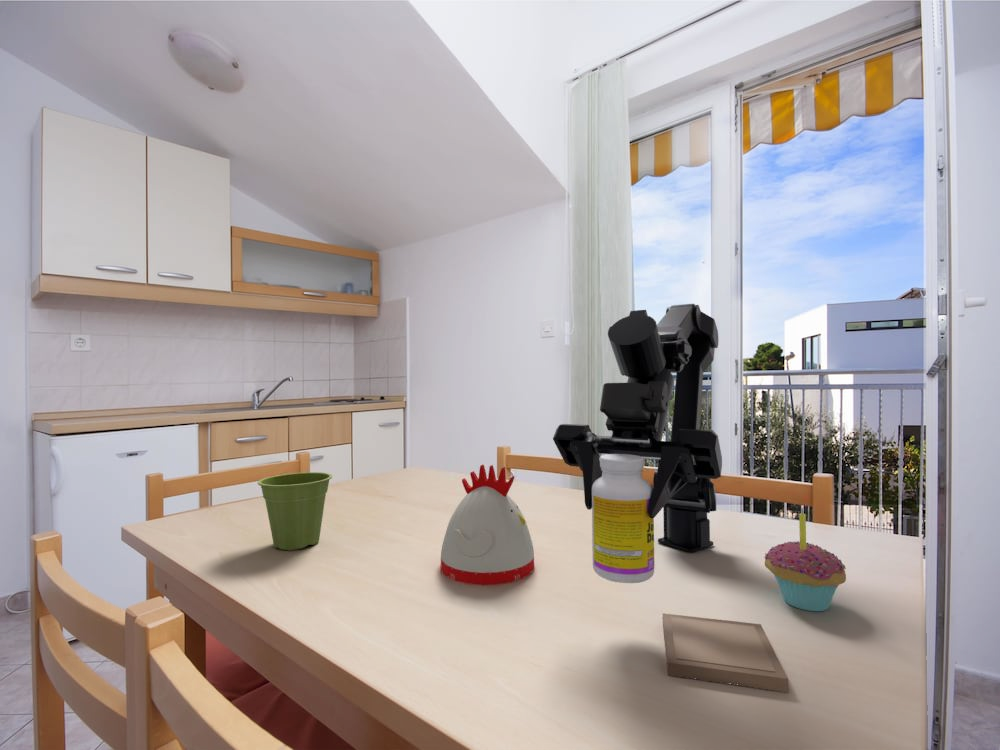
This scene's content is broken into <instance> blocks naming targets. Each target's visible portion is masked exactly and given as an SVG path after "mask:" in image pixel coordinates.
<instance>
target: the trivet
mask: <svg viewBox="0 0 1000 750" xmlns="http://www.w3.org/2000/svg"><path fill="white" fill-rule="evenodd" d="M662 628H663V629H662V630H663V631H662V632H663V640H664V650H665V651H664V652H665V662H666V670H667V676H670V677H675V676H678V677H677V678H682V677H685V678H684V679H689V678H692V679H691V680H694V679H693V678H696V679H701V680H700V681H703V680H707V681H706V682H710V681H713V682H712V683H717V682H722V683H721V684H724V683H731V684H735V685H734V686H738V685H742V686H741V687H745V686H749V687H748V688H752V687H755V688H754V689H759V688H762V689H761V690H766V689H768V690H767V691H773V690H774V691H773V692H781V693H789V679H788V676H787V674H786V672H785V670H784V668H783V666H782V664H781V662H780V660H779V658H778V656H777V654H776V651H775V650H774V648H773V645H772V643H771V641H770V640H769V638H768V636H767V634H766V632H765V630H764V628H763V626H762V624H761V623H753V622H742V621H735V620H734V621H733V620H726V619H717V618H708V617H698V616H690V615H682V614H681V615H680V614H671V613H662ZM696 679H695V680H696ZM731 684H730V685H731ZM737 684H738V685H737Z"/></svg>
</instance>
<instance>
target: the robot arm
mask: <svg viewBox="0 0 1000 750" xmlns="http://www.w3.org/2000/svg"><path fill="white" fill-rule="evenodd" d="M647 311H648V310H647V309H638V310H637V309H636V310H630V311H629V315H627V316H625V317H623V318H621V319H619V320H617V321H616V322H615V323H613V324H612V326H609V328H608V329H607V337H608V340H609V344H610V346H611V349H612V352H613V355H614V358H615V360H616V363H617V367H618V371H619V372H620V374H621V376H625V377H626V378H627V381H626V382H606V383H603V385H602V393H601V400H600V407H599V411H600V412H601V413H603V414H604V415H605V416H606V417H607V418H606V422H605V426H606V429H607V431H609V432H611V431H612V432H611V436H609V435H608V436H607V435H598V434H595V433H593V431H592V430H591V428H590V425H589V424H577V423H576V424H573V423H571V424H570V423H561V424H559V425H558V426H557V428H556V430H555V433H554V435H553V437H552V441H553V442H554V444H555V446H556V448H557V450H558V452H559V453H560V456H561V458H562V460H563V461H564V464H566V465H567V466H570V467H577V468H579V470H580V471H582V480H583V492H584V495H583V496H584V504H585V507H586V509H587V510H589V511H592V485H593V483H594V482H595V481H596V480H597V479H598V478H600V477H602V470H601V467H600V457H601V456H602V454H603V455H607V454H630V455H637V456H641V457H643V459H649V460H651V459H652V460H658V464H657V465H658V466H657V469H656V470H654V473H653V480H652V481H653V487H652V488H653V491H652V495H651V498H650V503H649V510H648V514H649V517H650V518H654V519H655V517H657V515H658V514H659V513H660V512H661V511H663V537H659V538H657V542H658V543H660V544H662V545H664V546H668V547H672V548H675V549H679V550H682V551H684V552H688V553H694V552H697V551H699V550H704V549H705V548H709V547H712V546H714V541H712V540H711V531H710V530H711V528H710V527H711V526H710V524H711V523H710V522H711V521H710V519H709V518H708V514H709V513H711V512H717V495H716V489H715V484H714V483H713V482H712V480H717V479H719V478H721V476H722V469H723V468H722V467H723V457H722V451H721V446H720V440H719V435H718V434H717V433H716V432H715V431H714V429H701V414H702V401H703V399H702V398H703V397H702V396H703V383H704V380H703V379H704V373H705V371H706V370H707V369H708V368H709V367H710V365H711V364H712V363H713V362H714V359H715V349H718V348H719V347H718V346H719V332H718V327H717V324H716V321H715V318H712V317H711V316H709V315H708V314H706V313H704V312H703V311H701V309H700V305H699V304H695V303H686V304H673V305H671V306H667V307H666V311H665V314H664V316H663V317H662V318H661V319H660V320H659V321H658V323H657V322H656V320H655V319H654V318H653V317H651V316H650V315H648V312H647ZM672 373H676V375H675V379H674V375H673V374H672ZM674 380H675V381H674ZM674 382H675V388H674V398H673V399H674V400H673V410H672V411H673V412H672V422H671V424H672V425H671V435H670V441H669V440H668V441H667V440H663V434H664V432H667V426H668V424H667V421H666V420H667V417H668V416H667V415H668V411H669V407H670V402H671V400H672V393H673V386H674ZM662 509H663V510H662Z"/></svg>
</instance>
